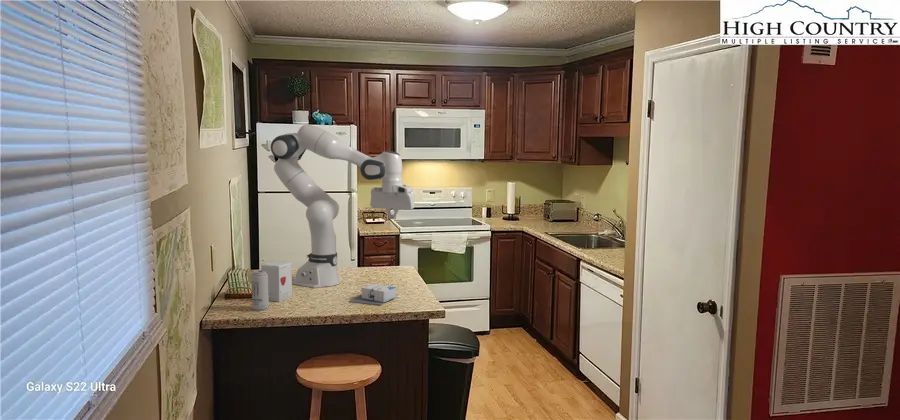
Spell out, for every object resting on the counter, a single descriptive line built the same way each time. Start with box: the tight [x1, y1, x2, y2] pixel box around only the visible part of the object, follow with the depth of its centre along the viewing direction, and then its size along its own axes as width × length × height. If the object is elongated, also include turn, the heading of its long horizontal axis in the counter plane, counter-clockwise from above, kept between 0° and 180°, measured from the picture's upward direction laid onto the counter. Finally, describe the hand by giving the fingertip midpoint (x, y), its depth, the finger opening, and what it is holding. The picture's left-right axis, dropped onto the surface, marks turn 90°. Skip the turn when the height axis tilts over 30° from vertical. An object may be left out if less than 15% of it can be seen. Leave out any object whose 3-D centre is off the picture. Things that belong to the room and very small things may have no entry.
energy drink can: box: [251, 269, 270, 312], centre depth 223 cm, size 6×6×15 cm
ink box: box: [361, 283, 397, 303], centre depth 239 cm, size 9×5×12 cm
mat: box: [348, 293, 388, 307], centre depth 238 cm, size 14×13×1 cm
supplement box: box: [260, 260, 293, 303], centre depth 238 cm, size 9×9×15 cm
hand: (392, 218), depth 256 cm, fingers closed
